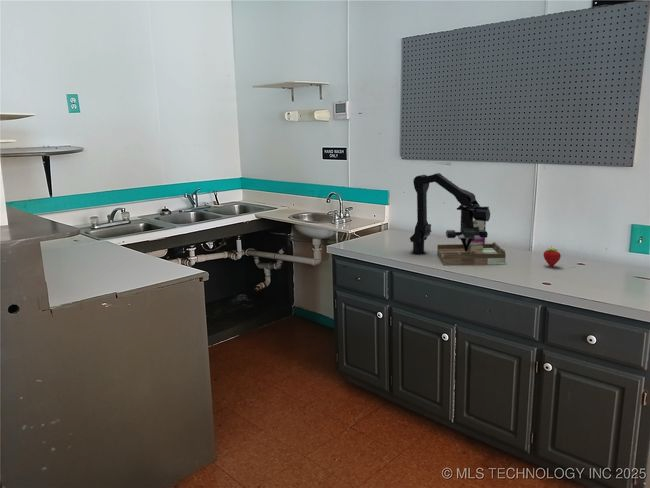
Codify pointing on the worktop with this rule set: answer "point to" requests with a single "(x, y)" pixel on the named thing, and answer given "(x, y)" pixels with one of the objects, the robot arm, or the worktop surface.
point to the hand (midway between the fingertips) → (465, 251)
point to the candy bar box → (481, 227)
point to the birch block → (475, 248)
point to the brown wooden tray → (471, 255)
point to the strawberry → (552, 256)
